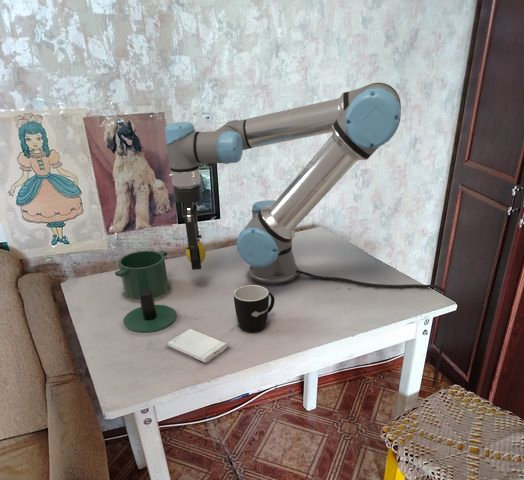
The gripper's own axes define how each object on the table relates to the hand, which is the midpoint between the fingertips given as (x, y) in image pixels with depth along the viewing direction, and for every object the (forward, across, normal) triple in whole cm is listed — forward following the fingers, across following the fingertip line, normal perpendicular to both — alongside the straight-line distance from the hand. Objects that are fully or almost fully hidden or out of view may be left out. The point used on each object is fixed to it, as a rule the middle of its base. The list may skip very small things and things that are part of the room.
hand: (197, 264), depth 147 cm
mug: (+8, +24, +16) cm, 30 cm away
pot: (+8, 0, -16) cm, 18 cm away
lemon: (+1, 0, 0) cm, 1 cm away
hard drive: (+8, +33, 0) cm, 34 cm away
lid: (+7, +18, -13) cm, 23 cm away
